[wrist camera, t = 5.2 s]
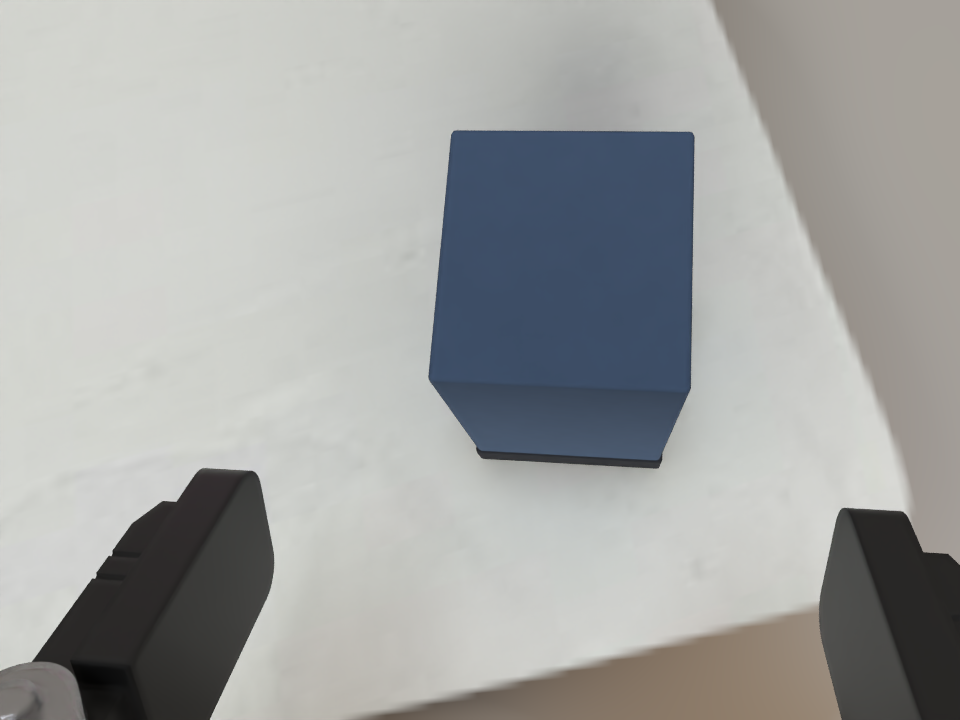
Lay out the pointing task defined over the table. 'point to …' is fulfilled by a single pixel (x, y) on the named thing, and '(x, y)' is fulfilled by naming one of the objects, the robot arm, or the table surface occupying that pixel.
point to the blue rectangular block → (566, 293)
